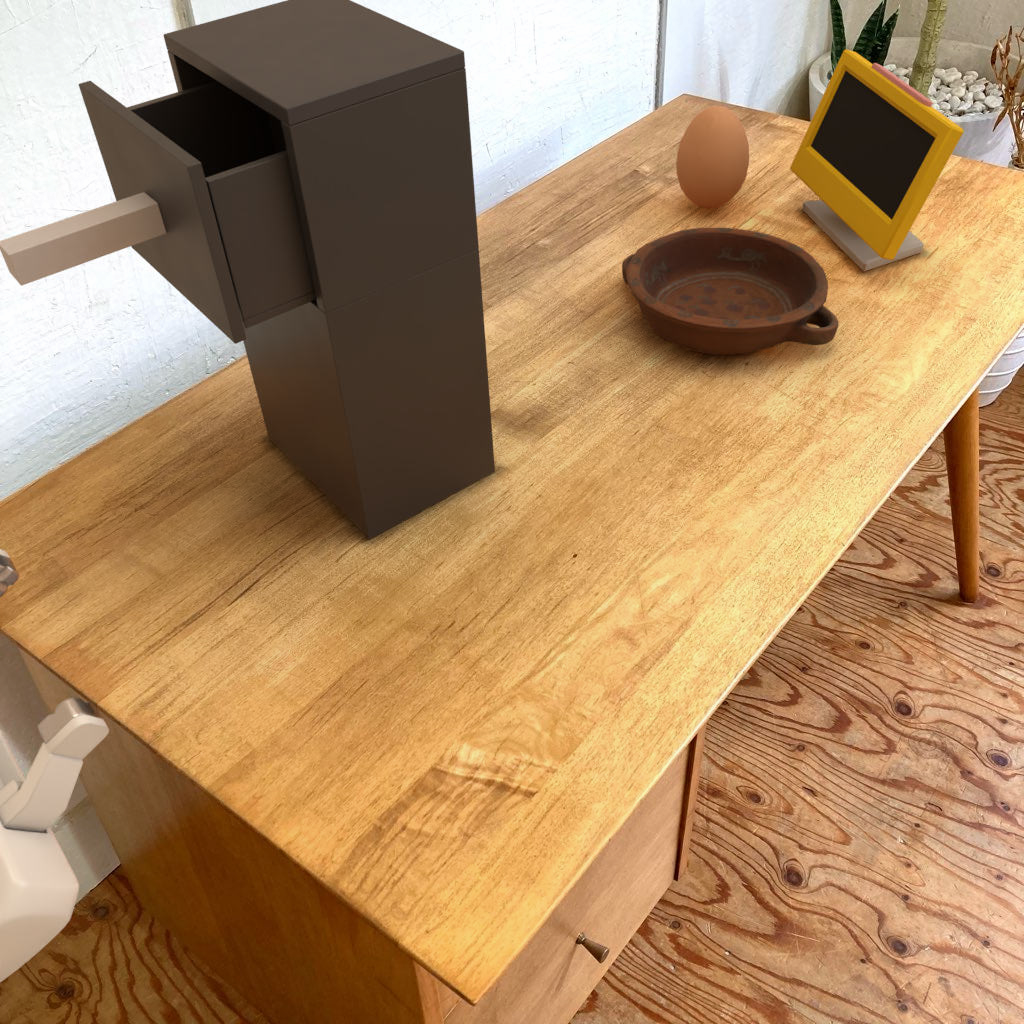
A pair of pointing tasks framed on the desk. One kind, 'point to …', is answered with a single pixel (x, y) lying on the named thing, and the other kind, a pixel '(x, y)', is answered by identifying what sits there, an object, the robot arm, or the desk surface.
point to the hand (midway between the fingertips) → (45, 630)
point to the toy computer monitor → (872, 161)
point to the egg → (713, 158)
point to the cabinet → (366, 252)
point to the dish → (730, 291)
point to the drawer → (188, 205)
